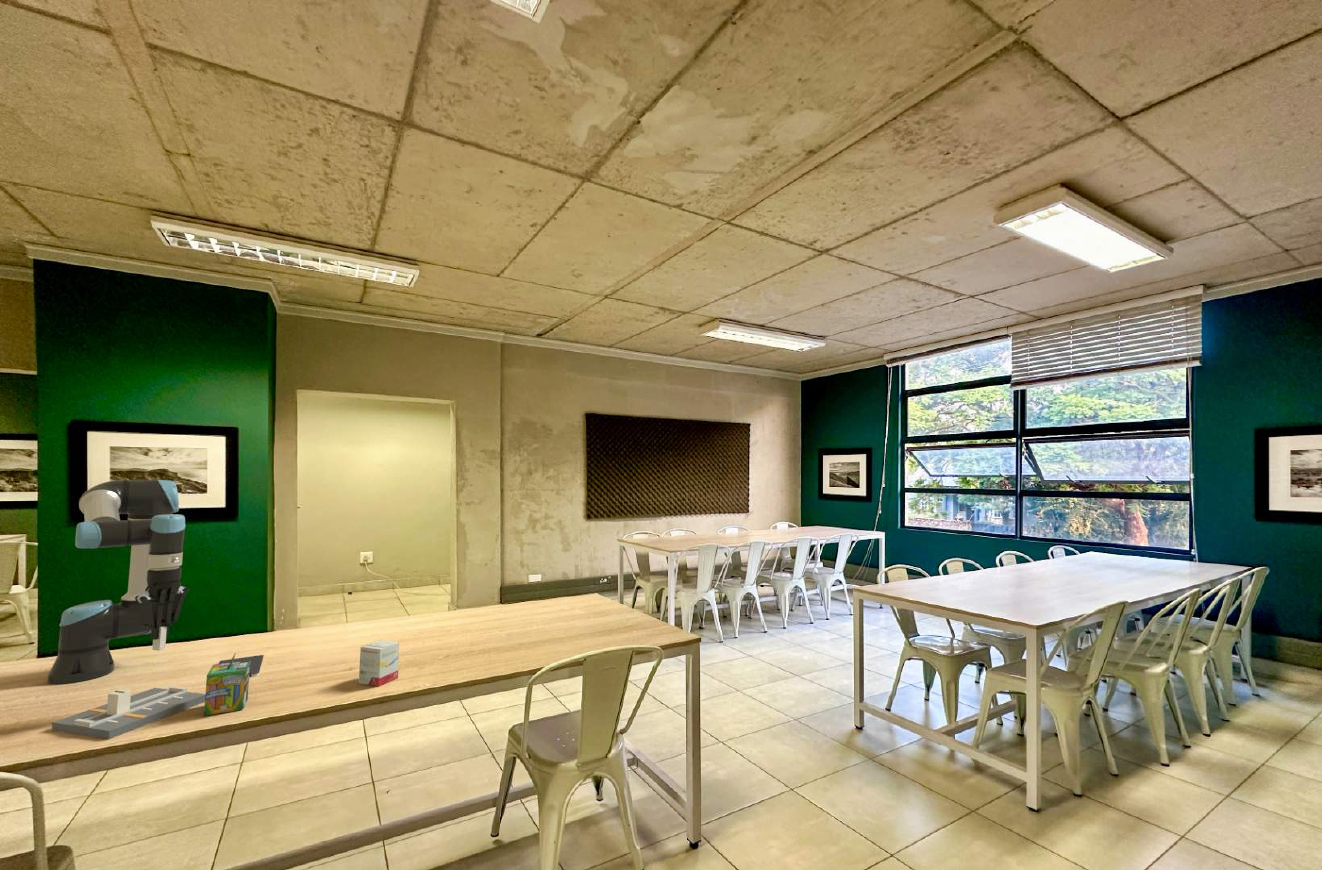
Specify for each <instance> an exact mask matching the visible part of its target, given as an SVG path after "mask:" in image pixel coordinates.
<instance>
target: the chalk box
mask: <svg viewBox="0 0 1322 870" xmlns="http://www.w3.org/2000/svg"><path fill="white" fill-rule="evenodd" d="M236 654H237V653H236V652H235V653H234V655H233V656H232V657H231V659H232V660H231V662H230V663H224V664H219V663H217V664H213V665H211V667H210V670H209V671H208V673H207V675H206V682H205V693H204V694H205V702H204V709H203V710H204V711H203V717H207V716H210V715H211V716H212V715H219V714H226V713H231V712H238V711H239V712H240V711H243V710H244V708H245V707H246V704H247V702H248V699H249V696H248V695H249V686H250V685H249V684H250V677H249V675H250V664H251V661H242V662H233V660H234V659H235V656H236Z"/></svg>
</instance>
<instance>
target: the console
mask: <svg viewBox="0 0 1322 870" xmlns="http://www.w3.org/2000/svg"><path fill="white" fill-rule="evenodd" d="M205 694H206V693H198V692H192V691H188V688H187V687H181V686H170V687H168V689H166V688H160V687H153V688H150V689H147V690H145V691H141V692H138V693H135V694H131V699H130V710H127V711H125V712H122V713H119V714H116V715H107V703H106V704H103V705H100V706H97V707H95V708H91V709H87V710H85V711H82V712H78V713H76V714H74V715H71V716H67V717H64V718H61V719H59V720H56V721H53V722H52V723H51V731H53V732H60V733H61V732H62V733H66V734H67V733H68V734H74V735H79V736H84V737H92V738H99V739H106V740H110V739H113V738H115V736H116V737H119V736H121V735H123V733H124V734H126V733H129V732H132V731H134V730H136V729H139V728H141V727H143V726H146V725H145V724H147V723H149V724H152V723H154V722H157V721H159V720H162V719H165V718H166V716H167V717H169V715H170V716H172V715H174V714H178V713H179V711H180V712H182V711H185V710H188V709H190V708H193V707H195V706H197V705H199V704H200V705H201V704H203V703H205ZM164 717H165V718H164ZM158 719H159V720H158ZM156 720H157V721H156ZM153 721H154V722H153ZM147 725H148V724H147ZM125 732H126V733H125ZM112 737H113V738H112Z"/></svg>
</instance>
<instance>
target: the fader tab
mask: <svg viewBox="0 0 1322 870" xmlns="http://www.w3.org/2000/svg"><path fill="white" fill-rule="evenodd" d="M131 696H132V690H128V689H117V690H115V691H111V692H110V693H107V702H106V704H107V715H116V714H119V713H122V712H125V711H127V710H130V699H131Z"/></svg>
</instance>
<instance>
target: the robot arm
mask: <svg viewBox="0 0 1322 870" xmlns="http://www.w3.org/2000/svg"><path fill="white" fill-rule="evenodd" d="M178 492H179V491H178V487H177V485H176V483H175V482H174V481H173V480H166V479H134V480H133V479H132V480H131V479H130V480H129V479H128V480H127V479H117V480H110V481H105V482H102V483H99V484H97V485H94V486H93V487H91V488H89V489H88V490H86V491H85V492H84V493H83V494H82V495H81V497H80V498H79V500H78V506H79V507H78V508H79V510H80V511H81V513H82V514H83V515H84V521H83V522H78V523H77V525H76V531H75V544H74V545H75V547H76V548H77V549H93V550H94V549H99V548H101V549H102V548H111V547H112V548H116V547H127V546H128V547H130V546H131V549H130V560H129V561H130V562H129V563H130V564H129V574H128V584H127V585H128V586H127V592H126V593H125V594H124V595H123V596H121V598H120V602H119V603H114V602H113V601H112V600H111V599H104V600H95V601H90V602H85V603H82V604H81V603H80V604H77V605H74V606H71V607H69V608H66V609H65V610H64V611H62V613H61V619H60V623H59V627H60V629H59V640H58V650H57V657H56V659H55V660H54V662H53V664H52V666H51V668H50V671H49V673H47V674H48V675H47V683H50V684H56V685H57V684H58V685H59V684H61V685H62V684H71V683H79V682H84V681H88V680H89V681H90V680H92V679H97V678H101V677H104V676H107V675H108V674H110V673H112V672H113V671H115V670H114V669H115V662H114V659H113V656H112V654H111V650H110V648H109V642H110V640H115V639H121V638H127V637H133V636H141V635H149V634H150V640H152V648H151V649H152V650H151V651H158V652H160V651H163V650H165V649H166V644H167V643H166V641H167V637H169V633H170V632H169V631H170V627H172V626H173V624H174V623H175V622H177V621H178V619H179V617H180V613H181V610H182V606H183V604H184V600H185V598H186V596H187V594H188V592H189V590H190V589H189V587H185V586H182V583H181V581H180V580H181V579H182V571H183V569H182V567H181V566H182V565H183V556H184V555H183V554H184V541H185V530H186V526H187V525H186V518H185V516H184V515H183V514H178V513H177V512H179V510H180V509H179V507H180V502H179V493H178ZM174 513H177V514H174ZM120 515H127V520H123V519H122V520H121V518H120Z"/></svg>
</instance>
